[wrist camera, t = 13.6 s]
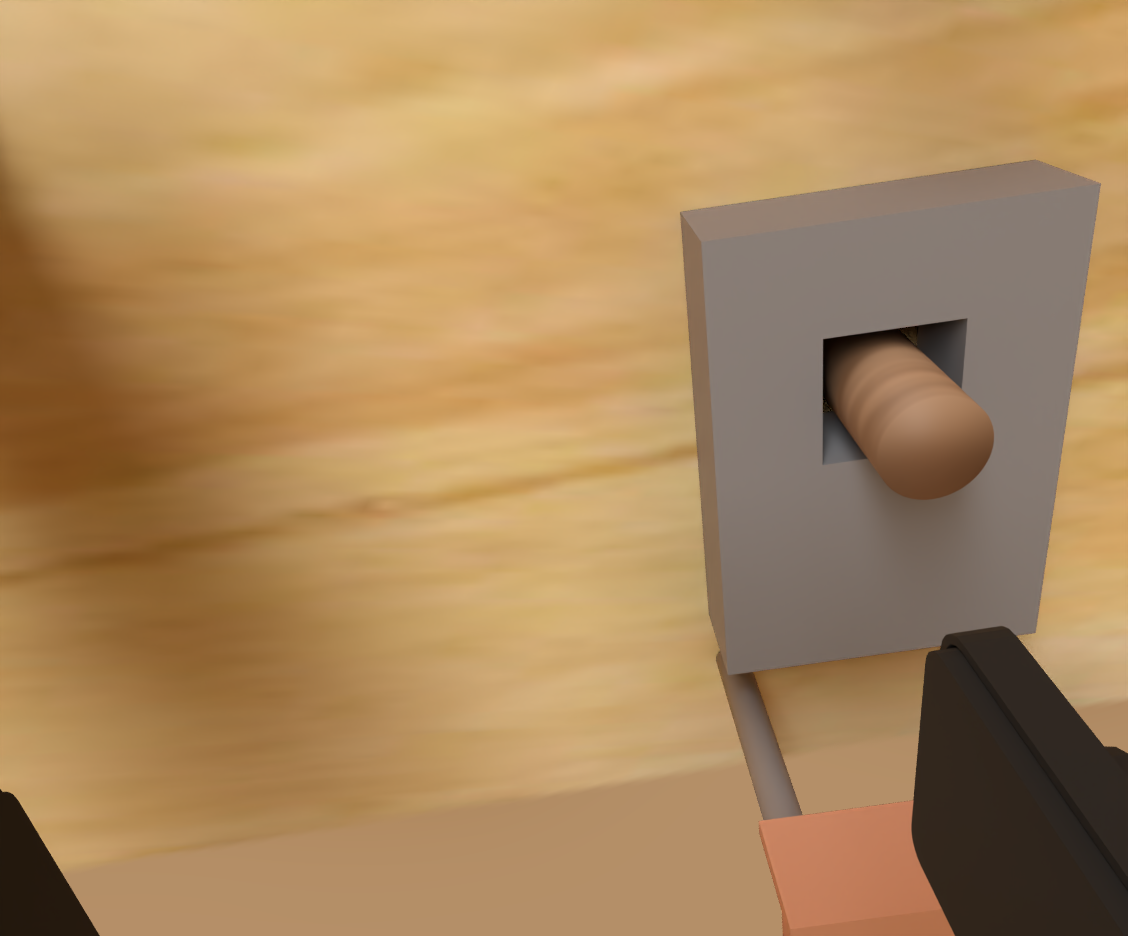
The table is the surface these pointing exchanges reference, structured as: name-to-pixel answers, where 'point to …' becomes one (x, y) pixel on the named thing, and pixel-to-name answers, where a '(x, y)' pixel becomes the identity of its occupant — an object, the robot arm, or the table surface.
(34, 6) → the table surface
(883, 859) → the pink topped stand
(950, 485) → the walnut peg
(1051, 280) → the socket block
